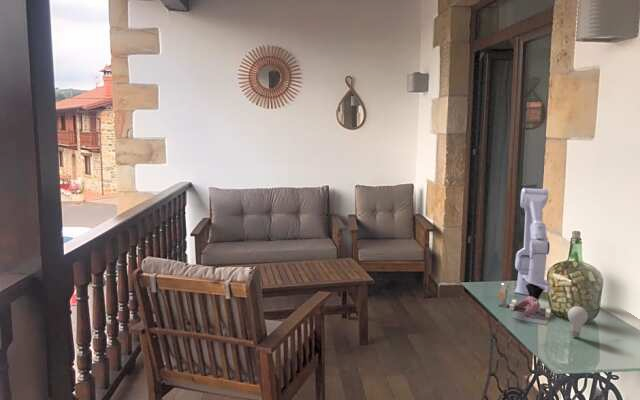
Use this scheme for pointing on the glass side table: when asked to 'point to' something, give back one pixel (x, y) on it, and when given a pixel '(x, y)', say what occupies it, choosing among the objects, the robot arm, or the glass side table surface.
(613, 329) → the glass side table surface
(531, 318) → the mat
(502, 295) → the orange and grey bar
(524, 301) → the video game controller
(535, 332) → the glass side table surface
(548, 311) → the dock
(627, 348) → the glass side table surface
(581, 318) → the lightbulb
